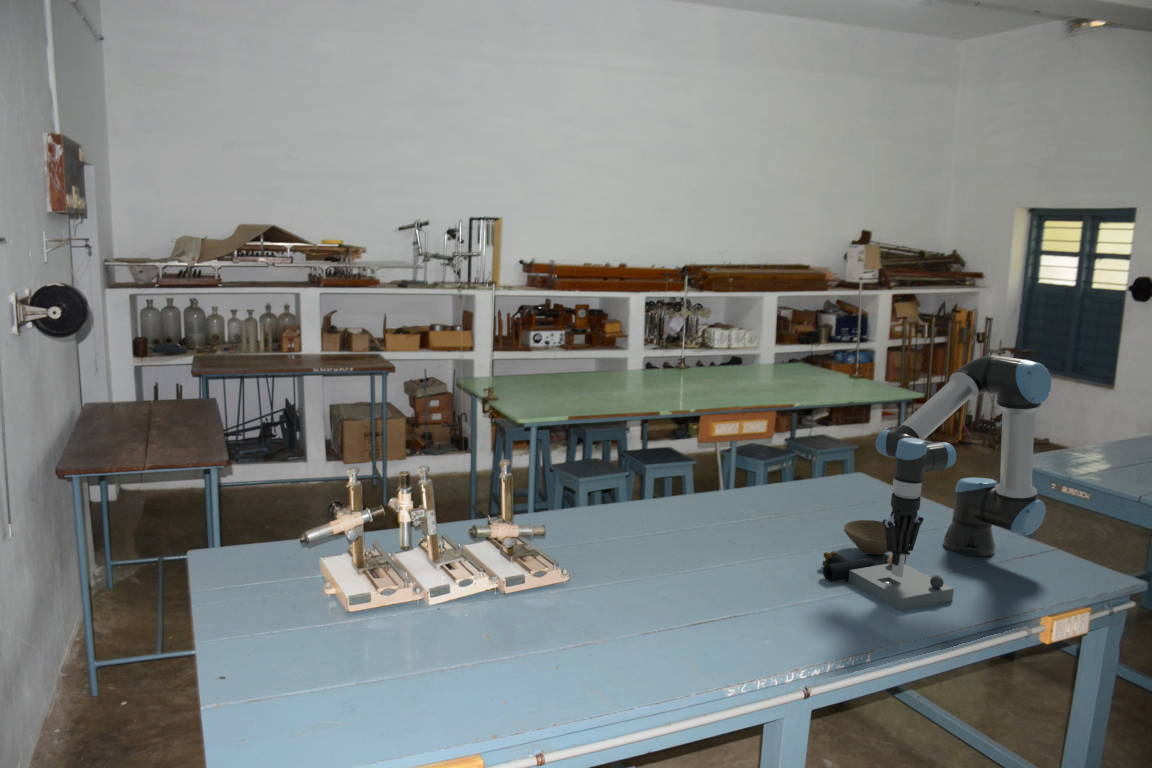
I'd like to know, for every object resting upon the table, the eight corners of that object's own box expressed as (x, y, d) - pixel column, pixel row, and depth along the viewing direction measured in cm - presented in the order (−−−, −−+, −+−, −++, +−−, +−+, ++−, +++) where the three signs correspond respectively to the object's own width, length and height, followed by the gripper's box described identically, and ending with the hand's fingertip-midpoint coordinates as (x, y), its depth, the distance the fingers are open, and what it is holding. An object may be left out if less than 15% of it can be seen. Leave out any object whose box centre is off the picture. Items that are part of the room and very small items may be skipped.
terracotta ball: (893, 563, 252) (894, 552, 252) (901, 567, 249) (903, 556, 249) (884, 564, 251) (885, 553, 250) (892, 569, 248) (894, 558, 247)
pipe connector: (809, 552, 254) (848, 546, 260) (807, 569, 255) (847, 563, 261) (835, 568, 244) (876, 561, 250) (833, 585, 245) (874, 578, 251)
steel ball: (889, 581, 242) (881, 578, 240) (898, 586, 239) (890, 582, 237) (884, 592, 242) (876, 589, 240) (893, 597, 239) (885, 593, 237)
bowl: (838, 557, 264) (841, 533, 263) (844, 538, 281) (846, 515, 280) (902, 568, 258) (905, 543, 256) (904, 548, 275) (907, 524, 273)
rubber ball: (935, 584, 238) (937, 573, 237) (945, 589, 235) (947, 577, 234) (926, 586, 237) (928, 574, 236) (936, 591, 234) (937, 579, 233)
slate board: (898, 572, 254) (899, 561, 254) (952, 600, 237) (953, 588, 236) (848, 581, 247) (849, 570, 246) (900, 610, 229) (901, 598, 228)
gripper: (913, 488, 242) (904, 567, 246) (878, 492, 236) (869, 573, 241) (934, 496, 235) (924, 577, 239) (898, 500, 230) (889, 583, 234)
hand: (897, 575), depth 240 cm, fingers closed
